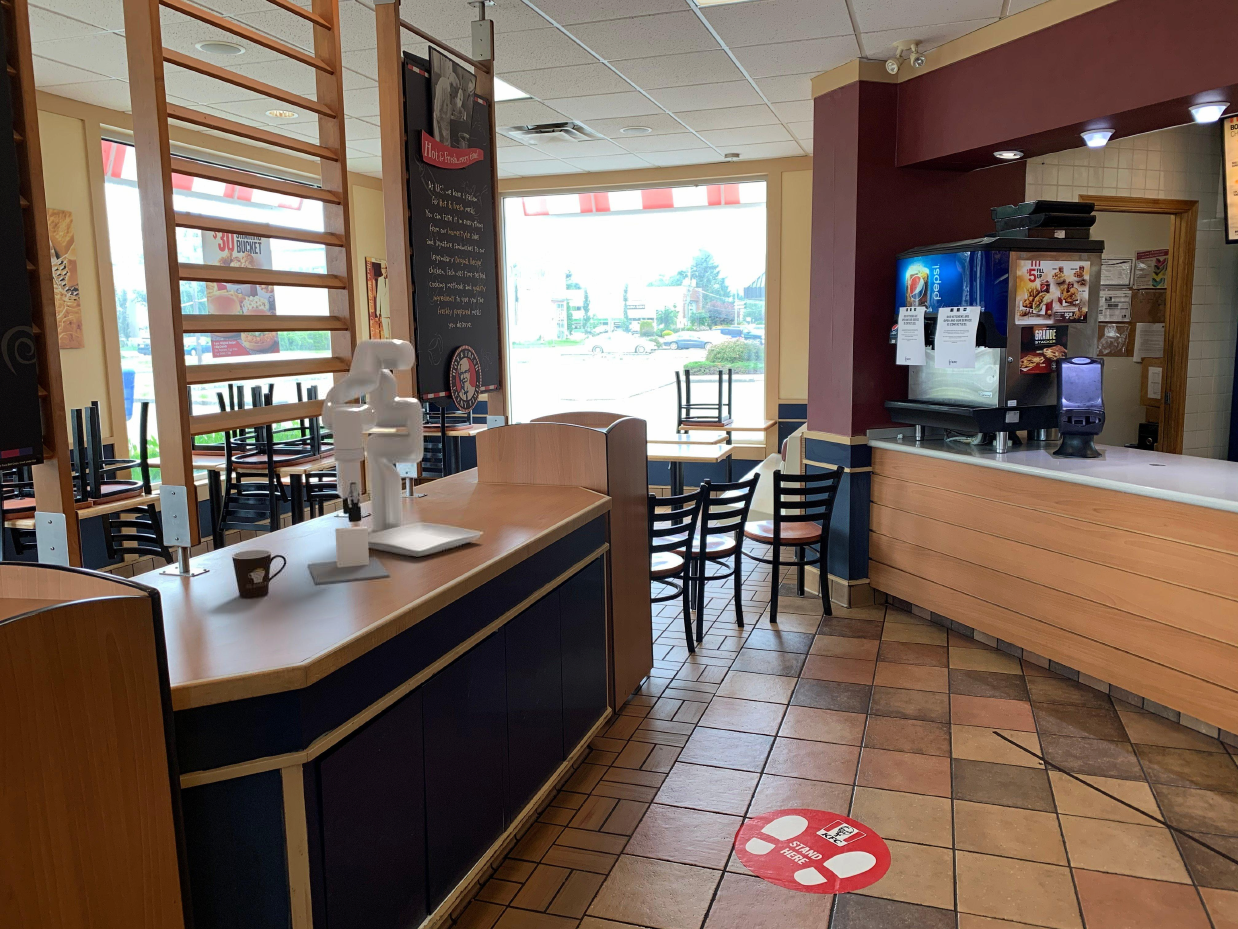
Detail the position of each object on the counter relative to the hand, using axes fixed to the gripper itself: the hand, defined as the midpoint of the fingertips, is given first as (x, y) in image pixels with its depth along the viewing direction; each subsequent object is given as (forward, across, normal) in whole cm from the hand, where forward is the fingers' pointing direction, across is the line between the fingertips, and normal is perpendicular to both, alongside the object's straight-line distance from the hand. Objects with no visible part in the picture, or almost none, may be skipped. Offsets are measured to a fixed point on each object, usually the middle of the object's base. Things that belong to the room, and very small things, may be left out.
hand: (352, 517), depth 234 cm
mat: (+13, +5, -2) cm, 14 cm away
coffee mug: (+13, +18, -24) cm, 33 cm away
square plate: (+15, -16, +21) cm, 30 cm away
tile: (+13, +1, -1) cm, 13 cm away
